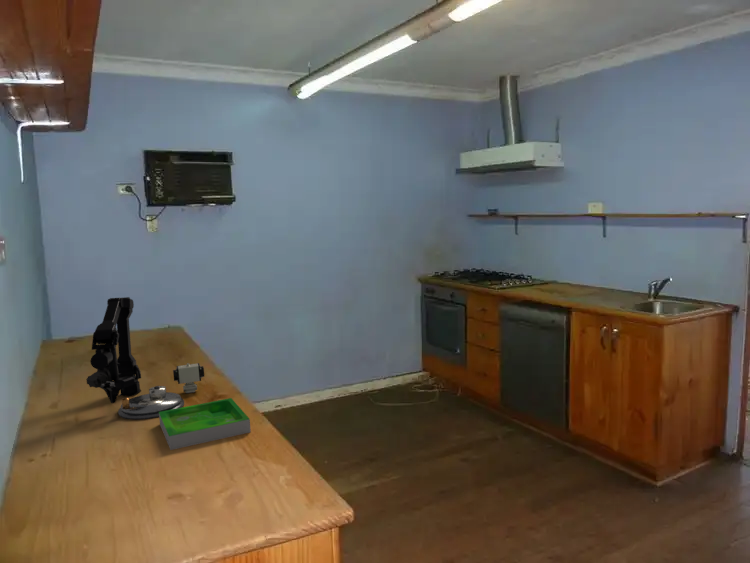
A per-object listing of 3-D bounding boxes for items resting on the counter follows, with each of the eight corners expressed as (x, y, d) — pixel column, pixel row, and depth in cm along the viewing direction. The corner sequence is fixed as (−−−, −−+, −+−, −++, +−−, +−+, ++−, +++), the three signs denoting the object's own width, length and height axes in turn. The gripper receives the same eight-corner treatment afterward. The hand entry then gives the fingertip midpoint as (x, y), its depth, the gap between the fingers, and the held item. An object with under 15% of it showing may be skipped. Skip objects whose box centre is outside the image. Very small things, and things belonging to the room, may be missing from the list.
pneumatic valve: (205, 391, 231) (203, 362, 229) (175, 395, 227) (172, 366, 225) (204, 387, 236) (202, 359, 234) (175, 392, 232) (172, 363, 230)
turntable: (110, 416, 203) (108, 402, 203) (136, 396, 224) (135, 384, 223) (168, 414, 202) (166, 400, 202) (189, 394, 223) (188, 382, 223)
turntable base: (106, 420, 202) (106, 417, 202) (135, 399, 225) (135, 396, 225) (170, 418, 202) (169, 415, 201) (192, 397, 224) (192, 394, 224)
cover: (147, 399, 216) (146, 389, 215) (153, 394, 222) (152, 384, 221) (162, 398, 215) (161, 388, 215) (168, 393, 221) (168, 384, 221)
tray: (170, 451, 174) (169, 436, 174) (160, 425, 196) (158, 412, 196) (250, 433, 186) (249, 418, 185) (232, 411, 208) (231, 397, 207)
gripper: (71, 365, 204) (76, 407, 206) (108, 369, 196) (113, 413, 198) (97, 357, 214) (102, 397, 216) (134, 361, 206) (138, 402, 208)
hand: (113, 403), depth 209 cm, fingers closed
